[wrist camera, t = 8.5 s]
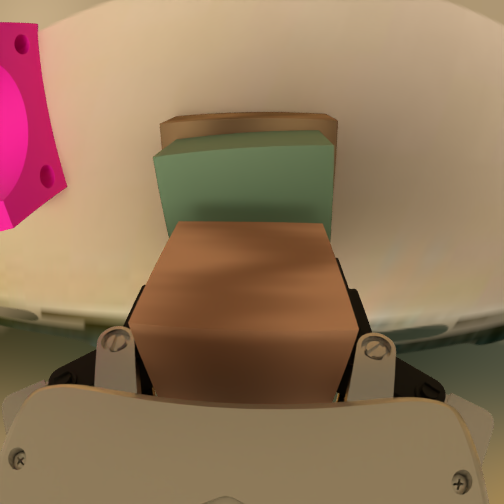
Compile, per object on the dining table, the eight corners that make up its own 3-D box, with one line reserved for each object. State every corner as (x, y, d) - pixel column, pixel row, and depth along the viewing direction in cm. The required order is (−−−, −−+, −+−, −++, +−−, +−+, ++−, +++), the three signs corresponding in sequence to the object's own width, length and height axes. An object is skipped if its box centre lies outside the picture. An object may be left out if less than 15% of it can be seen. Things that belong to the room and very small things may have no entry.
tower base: (324, 113, 19) (337, 120, 15) (313, 262, 25) (321, 292, 22) (177, 115, 19) (159, 123, 16) (193, 261, 25) (183, 291, 22)
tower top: (318, 130, 16) (334, 145, 12) (315, 277, 21) (322, 317, 18) (176, 139, 16) (153, 157, 13) (200, 281, 21) (190, 320, 18)
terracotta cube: (322, 223, 11) (358, 329, 7) (307, 327, 14) (320, 429, 10) (178, 221, 12) (128, 322, 7) (193, 324, 14) (171, 424, 10)
